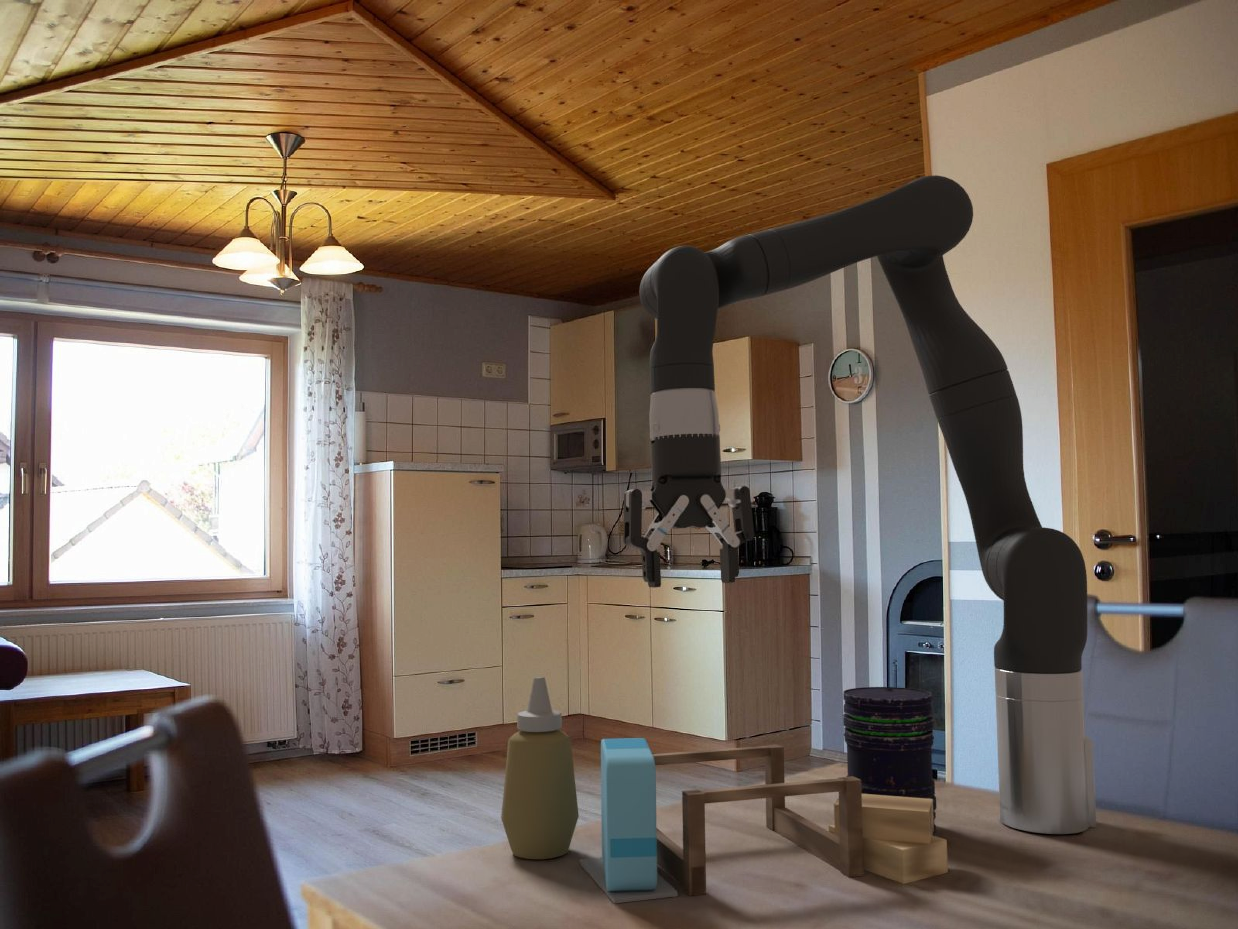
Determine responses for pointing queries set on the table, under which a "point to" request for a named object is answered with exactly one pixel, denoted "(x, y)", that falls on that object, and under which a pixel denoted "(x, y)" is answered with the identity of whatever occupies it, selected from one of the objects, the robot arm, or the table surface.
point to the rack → (827, 846)
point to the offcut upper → (894, 818)
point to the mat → (597, 873)
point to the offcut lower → (904, 858)
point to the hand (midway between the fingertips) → (691, 585)
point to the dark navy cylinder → (890, 741)
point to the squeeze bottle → (539, 782)
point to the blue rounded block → (628, 814)
